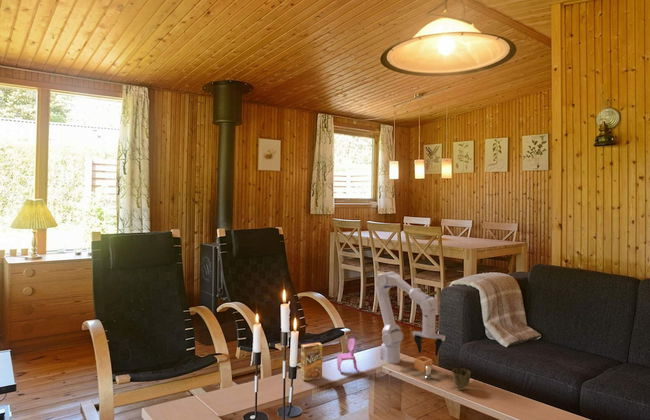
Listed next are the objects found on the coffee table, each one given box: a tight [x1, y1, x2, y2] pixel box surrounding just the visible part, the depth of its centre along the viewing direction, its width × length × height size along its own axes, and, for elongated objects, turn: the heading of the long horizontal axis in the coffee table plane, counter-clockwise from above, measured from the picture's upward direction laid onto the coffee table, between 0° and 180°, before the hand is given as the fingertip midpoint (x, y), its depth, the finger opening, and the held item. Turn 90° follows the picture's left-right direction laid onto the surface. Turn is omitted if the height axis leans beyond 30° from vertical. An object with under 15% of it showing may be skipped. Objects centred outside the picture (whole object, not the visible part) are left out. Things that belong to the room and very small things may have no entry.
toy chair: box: [336, 337, 359, 374], centre depth 215 cm, size 8×9×15 cm
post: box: [424, 366, 432, 379], centre depth 205 cm, size 3×3×6 cm
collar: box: [413, 355, 433, 372], centre depth 215 cm, size 6×6×4 cm
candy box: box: [300, 341, 323, 381], centre depth 206 cm, size 9×4×15 cm, turn 113°
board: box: [397, 364, 453, 385], centre depth 210 cm, size 20×14×1 cm
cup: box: [451, 367, 472, 392], centre depth 195 cm, size 8×7×8 cm
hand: (428, 353), depth 211 cm, fingers open, 7 cm apart
